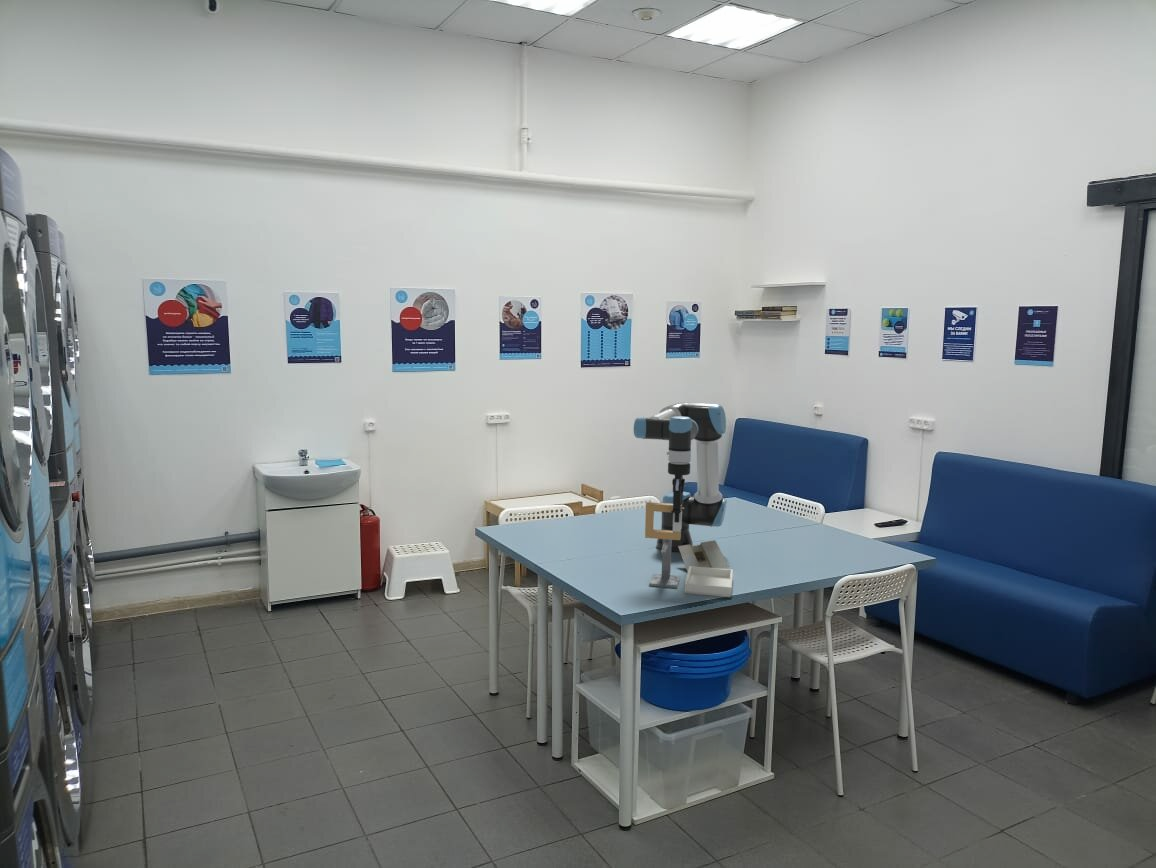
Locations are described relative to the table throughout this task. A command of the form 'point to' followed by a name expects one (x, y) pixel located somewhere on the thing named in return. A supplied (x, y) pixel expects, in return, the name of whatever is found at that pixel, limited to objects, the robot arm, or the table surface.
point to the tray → (709, 581)
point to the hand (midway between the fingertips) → (677, 529)
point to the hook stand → (665, 569)
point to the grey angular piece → (703, 555)
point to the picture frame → (650, 520)
